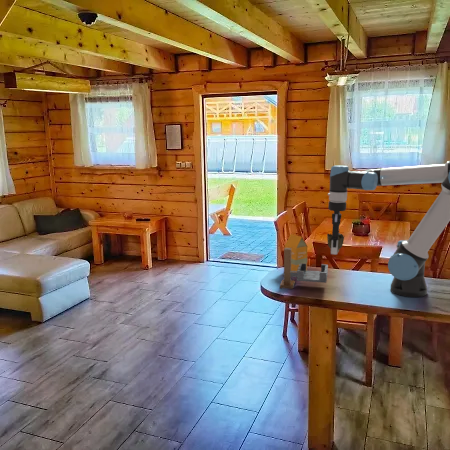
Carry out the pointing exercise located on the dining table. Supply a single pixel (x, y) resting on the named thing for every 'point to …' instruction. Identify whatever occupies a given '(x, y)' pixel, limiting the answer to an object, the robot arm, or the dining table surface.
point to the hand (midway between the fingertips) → (334, 251)
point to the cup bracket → (301, 272)
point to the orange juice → (297, 251)
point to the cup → (340, 241)
